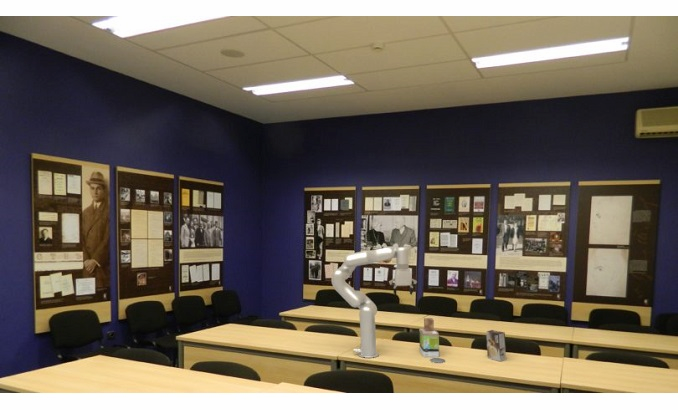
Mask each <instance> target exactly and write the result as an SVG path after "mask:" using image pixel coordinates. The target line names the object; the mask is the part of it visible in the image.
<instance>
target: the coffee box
mask: <svg viewBox="0 0 678 410" xmlns="http://www.w3.org/2000/svg"><path fill="white" fill-rule="evenodd" d="M505 334H506V333H505V332H504V331H501V330H500V331H498V330H494V329H491V330H487V331H486V351H487V355H486V356H487V359H489V360H494V361H498V362H503V361H506V360H507V354H506V353H507V352H506V335H505Z"/></svg>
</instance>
